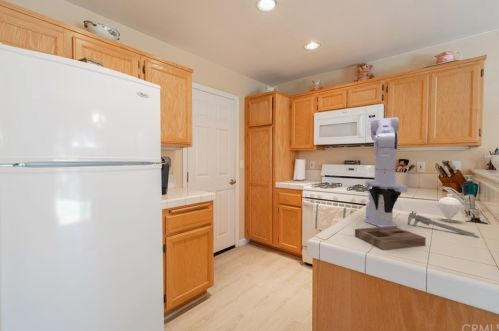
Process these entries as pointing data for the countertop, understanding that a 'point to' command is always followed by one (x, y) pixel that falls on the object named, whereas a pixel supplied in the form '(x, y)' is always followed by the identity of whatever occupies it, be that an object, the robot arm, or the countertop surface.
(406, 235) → the socket block
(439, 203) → the spinning top
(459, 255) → the countertop surface
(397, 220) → the countertop surface
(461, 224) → the countertop surface
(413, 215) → the caliper
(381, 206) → the peg
